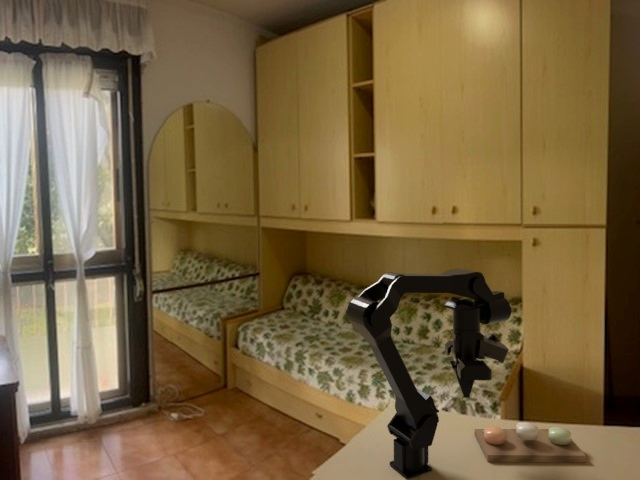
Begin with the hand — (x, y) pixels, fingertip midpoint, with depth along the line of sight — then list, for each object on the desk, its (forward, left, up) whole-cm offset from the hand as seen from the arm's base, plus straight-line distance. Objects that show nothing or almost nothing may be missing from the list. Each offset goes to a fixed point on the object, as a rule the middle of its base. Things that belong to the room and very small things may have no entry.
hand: (466, 397), depth 116 cm
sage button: (+18, -10, -10) cm, 23 cm away
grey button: (+12, -6, -9) cm, 16 cm away
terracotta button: (+6, -2, -10) cm, 12 cm away
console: (+12, -6, -12) cm, 18 cm away
